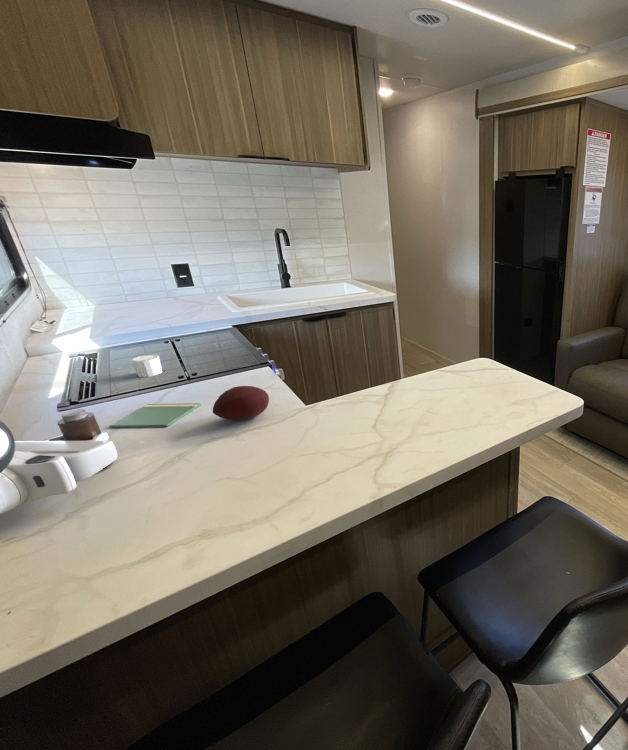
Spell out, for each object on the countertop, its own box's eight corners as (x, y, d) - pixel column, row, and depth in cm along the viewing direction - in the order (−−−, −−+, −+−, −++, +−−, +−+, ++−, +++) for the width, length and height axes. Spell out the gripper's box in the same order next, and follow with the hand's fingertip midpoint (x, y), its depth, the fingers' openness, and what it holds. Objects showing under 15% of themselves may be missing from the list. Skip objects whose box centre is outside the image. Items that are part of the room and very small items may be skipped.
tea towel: (109, 427, 97) (108, 425, 97) (149, 405, 108) (148, 403, 108) (167, 426, 97) (166, 424, 97) (201, 405, 109) (200, 402, 108)
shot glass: (161, 372, 131) (154, 352, 129) (169, 377, 128) (162, 356, 125) (135, 379, 126) (127, 358, 124) (142, 384, 123) (134, 362, 120)
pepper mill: (72, 473, 79) (46, 418, 75) (96, 459, 84) (72, 406, 79) (98, 473, 79) (73, 418, 75) (120, 459, 84) (98, 406, 79)
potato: (282, 410, 105) (275, 381, 102) (248, 431, 95) (239, 399, 92) (245, 406, 108) (237, 377, 104) (208, 426, 97) (199, 395, 94)
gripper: (-43, 493, 68) (43, 449, 81) (78, 492, 68) (144, 448, 81) (-62, 462, 66) (29, 421, 79) (63, 461, 66) (134, 421, 79)
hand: (88, 435), depth 80 cm, fingers closed on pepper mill, 5 cm apart
